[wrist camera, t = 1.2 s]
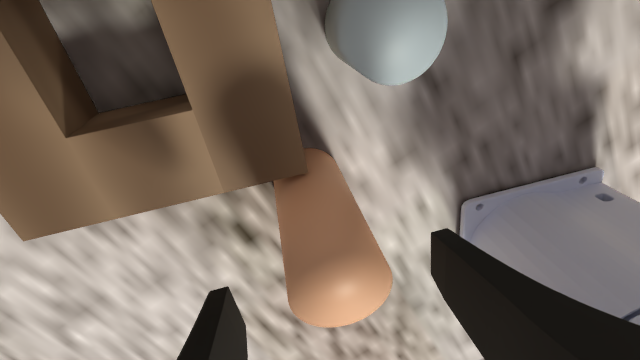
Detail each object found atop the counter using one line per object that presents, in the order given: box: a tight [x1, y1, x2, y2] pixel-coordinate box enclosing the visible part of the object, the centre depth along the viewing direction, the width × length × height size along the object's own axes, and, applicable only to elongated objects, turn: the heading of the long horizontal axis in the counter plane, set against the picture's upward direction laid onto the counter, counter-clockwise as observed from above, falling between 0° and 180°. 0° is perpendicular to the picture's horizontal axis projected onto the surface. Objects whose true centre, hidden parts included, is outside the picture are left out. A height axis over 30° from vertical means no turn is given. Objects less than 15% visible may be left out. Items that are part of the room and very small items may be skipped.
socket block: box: [0, 0, 308, 241], centre depth 12 cm, size 12×12×3 cm
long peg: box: [274, 148, 392, 327], centre depth 15 cm, size 4×4×8 cm
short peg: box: [325, 0, 448, 86], centre depth 13 cm, size 4×4×4 cm
